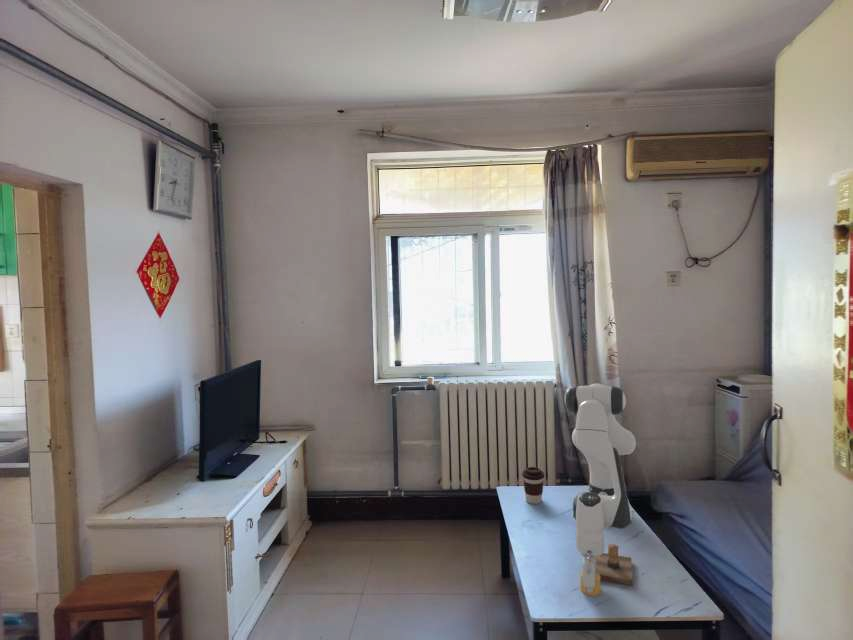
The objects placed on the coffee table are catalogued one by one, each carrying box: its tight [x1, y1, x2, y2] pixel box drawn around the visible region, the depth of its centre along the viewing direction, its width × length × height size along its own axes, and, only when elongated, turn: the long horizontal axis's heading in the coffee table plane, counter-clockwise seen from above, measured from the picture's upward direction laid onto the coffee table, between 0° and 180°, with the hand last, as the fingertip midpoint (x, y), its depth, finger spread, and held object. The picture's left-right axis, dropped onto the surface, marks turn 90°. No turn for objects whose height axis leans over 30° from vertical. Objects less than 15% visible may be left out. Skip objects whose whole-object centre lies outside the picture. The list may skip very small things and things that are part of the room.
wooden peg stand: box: [596, 543, 634, 587], centre depth 167 cm, size 14×12×9 cm
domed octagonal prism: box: [580, 570, 601, 596], centre depth 158 cm, size 6×6×5 cm
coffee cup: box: [522, 466, 545, 505], centre depth 222 cm, size 10×10×15 cm
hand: (590, 583), depth 158 cm, fingers closed on domed octagonal prism, 6 cm apart
